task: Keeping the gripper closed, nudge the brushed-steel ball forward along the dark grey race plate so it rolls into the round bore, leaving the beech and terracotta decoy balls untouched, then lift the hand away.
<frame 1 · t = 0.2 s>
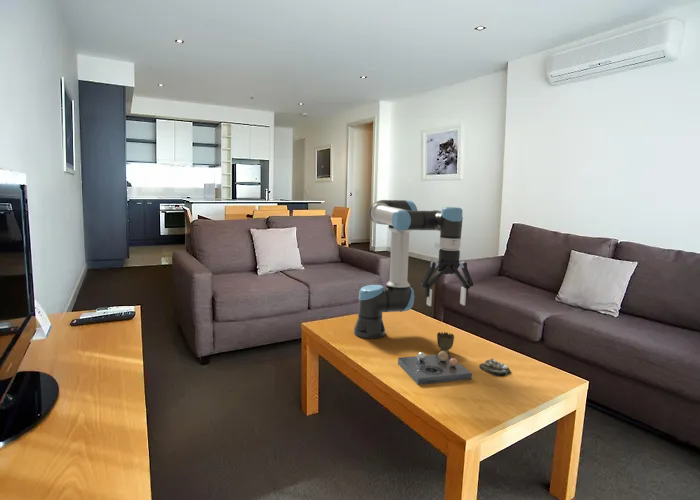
hand: (445, 304, 159), 27 cm above the table, fingers open, 13 cm apart
beech ball: (443, 356, 168), point 4 cm above the table, touching race plate
steel ball: (421, 356, 168), point 4 cm above the table, touching race plate
race plate: (433, 371, 165), on the table
terracotta ball: (453, 362, 164), point 4 cm above the table, touching race plate
grey rocky sculpture: (495, 371, 168), on the table
cup: (444, 352, 185), on the table
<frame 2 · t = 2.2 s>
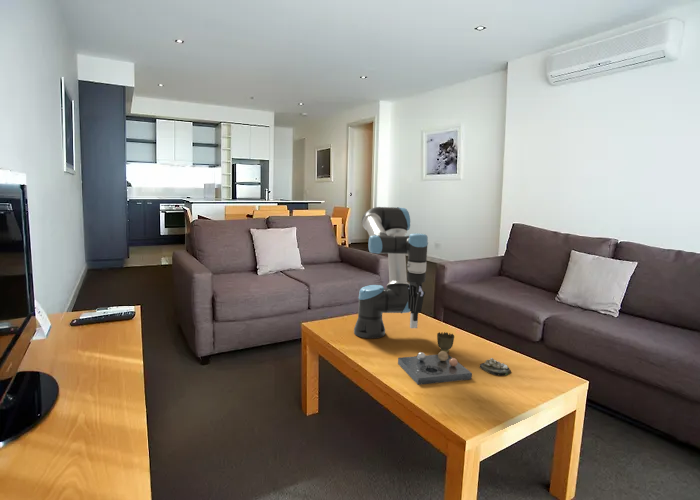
hand: (413, 327, 175), 13 cm above the table, fingers closed
nothing on the table moved.
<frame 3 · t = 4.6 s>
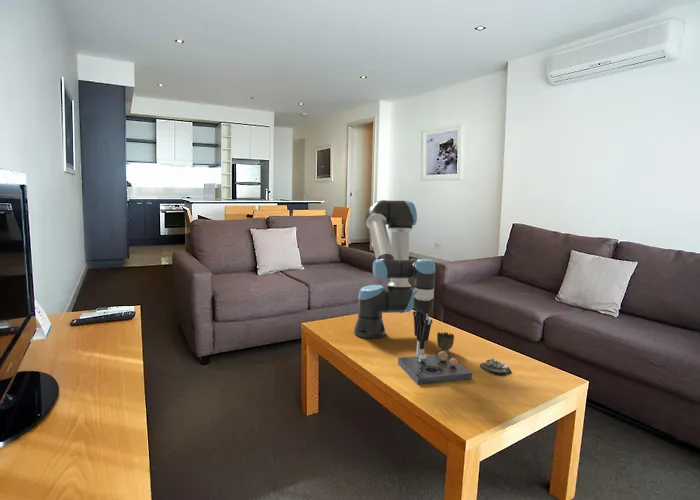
hand: (420, 355, 169), 4 cm above the table, fingers closed
steel ball: (422, 357, 167), point 4 cm above the table, tilted 40°, touching gripper, race plate
everything else where it was.
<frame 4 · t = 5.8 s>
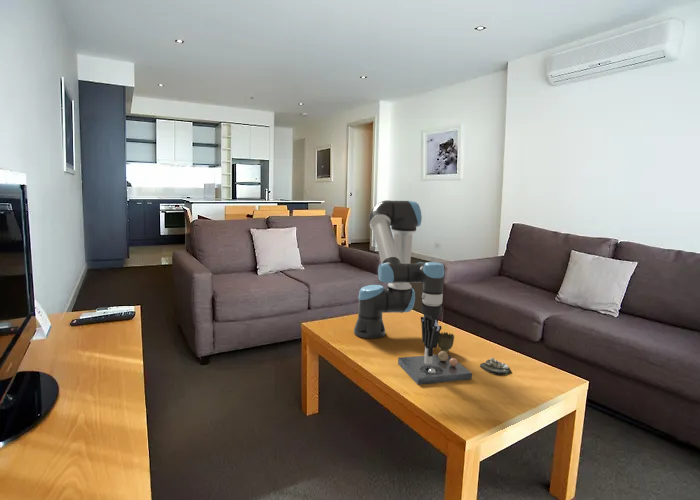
hand: (428, 363, 162), 4 cm above the table, fingers closed
steel ball: (431, 372, 159), point 2 cm above the table, tilted 15°
everything else where it was.
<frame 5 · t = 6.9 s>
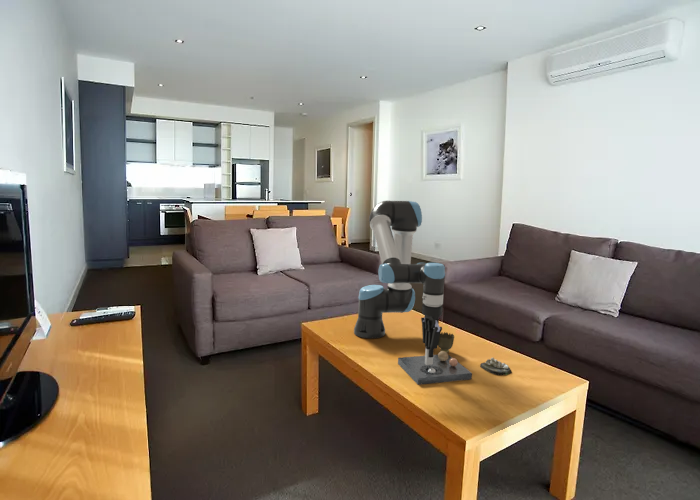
hand: (428, 363, 162), 4 cm above the table, fingers closed
nothing on the table moved.
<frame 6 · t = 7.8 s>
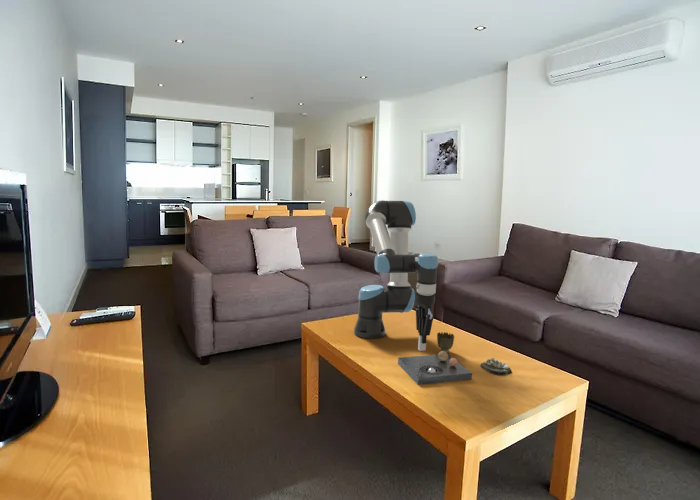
hand: (421, 349, 170), 6 cm above the table, fingers closed
nothing on the table moved.
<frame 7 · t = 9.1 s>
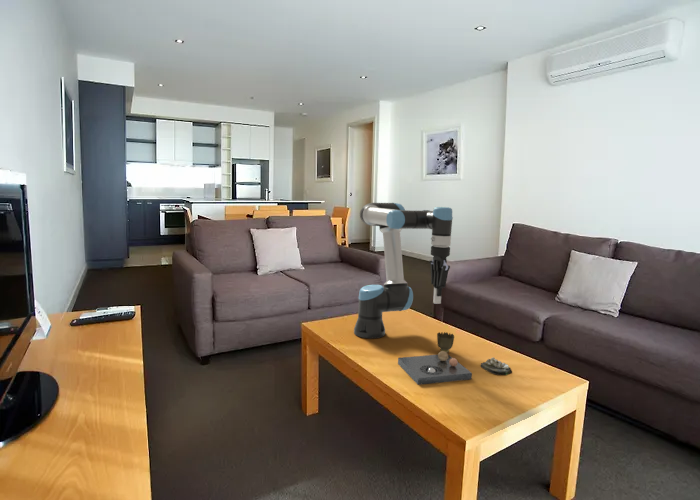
hand: (436, 303, 172), 24 cm above the table, fingers closed
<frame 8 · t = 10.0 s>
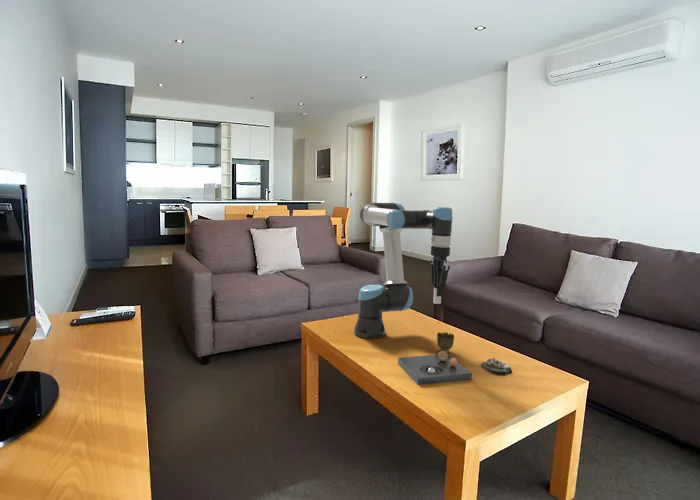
hand: (436, 303, 172), 24 cm above the table, fingers closed
at the end: steel ball 0.1 cm from the target spot in the race plate, point 1.7 cm above the race plate's base; beech ball moved 0.1 cm from its start; terracotta ball moved 0.1 cm from its start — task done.
